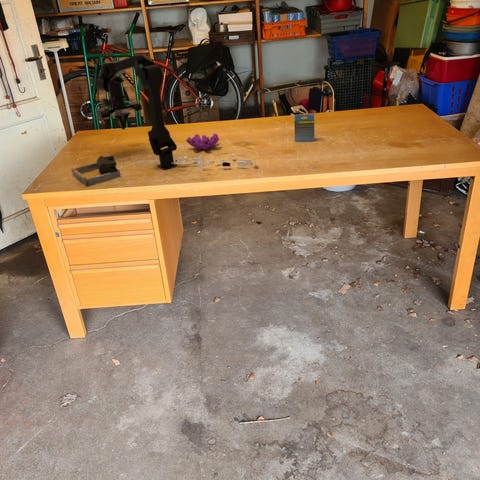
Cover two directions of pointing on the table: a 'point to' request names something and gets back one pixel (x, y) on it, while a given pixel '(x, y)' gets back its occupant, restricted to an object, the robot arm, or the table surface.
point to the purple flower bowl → (203, 141)
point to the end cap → (106, 164)
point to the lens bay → (97, 179)
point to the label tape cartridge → (304, 128)
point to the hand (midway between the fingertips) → (123, 129)
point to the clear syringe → (201, 161)
